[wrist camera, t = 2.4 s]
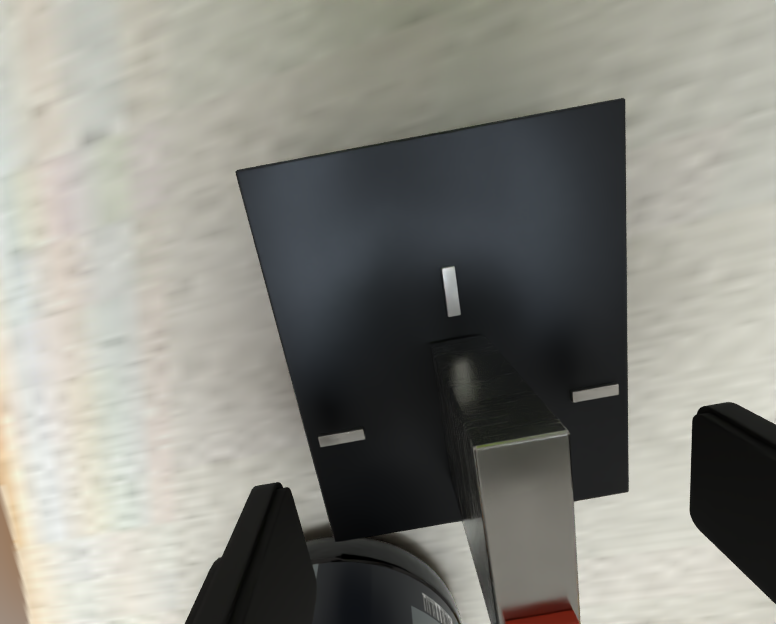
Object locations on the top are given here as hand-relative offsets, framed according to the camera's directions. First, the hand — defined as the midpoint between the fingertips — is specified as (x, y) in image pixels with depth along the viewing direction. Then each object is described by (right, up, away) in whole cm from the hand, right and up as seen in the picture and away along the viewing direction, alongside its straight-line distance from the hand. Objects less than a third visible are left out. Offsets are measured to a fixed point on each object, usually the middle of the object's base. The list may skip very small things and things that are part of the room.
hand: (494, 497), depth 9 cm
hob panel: (0, +4, +5) cm, 7 cm away
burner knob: (0, +1, +3) cm, 3 cm away
